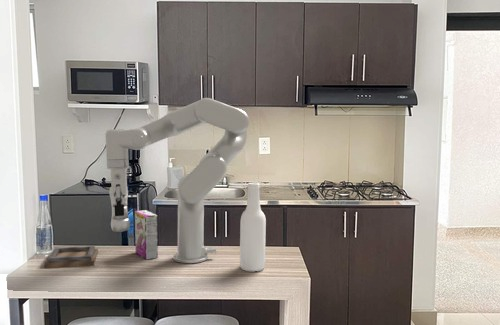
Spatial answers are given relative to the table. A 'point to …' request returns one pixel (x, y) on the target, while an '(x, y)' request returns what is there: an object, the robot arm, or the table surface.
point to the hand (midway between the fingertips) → (120, 213)
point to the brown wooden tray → (72, 256)
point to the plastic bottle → (119, 221)
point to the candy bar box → (146, 234)
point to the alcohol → (252, 232)
